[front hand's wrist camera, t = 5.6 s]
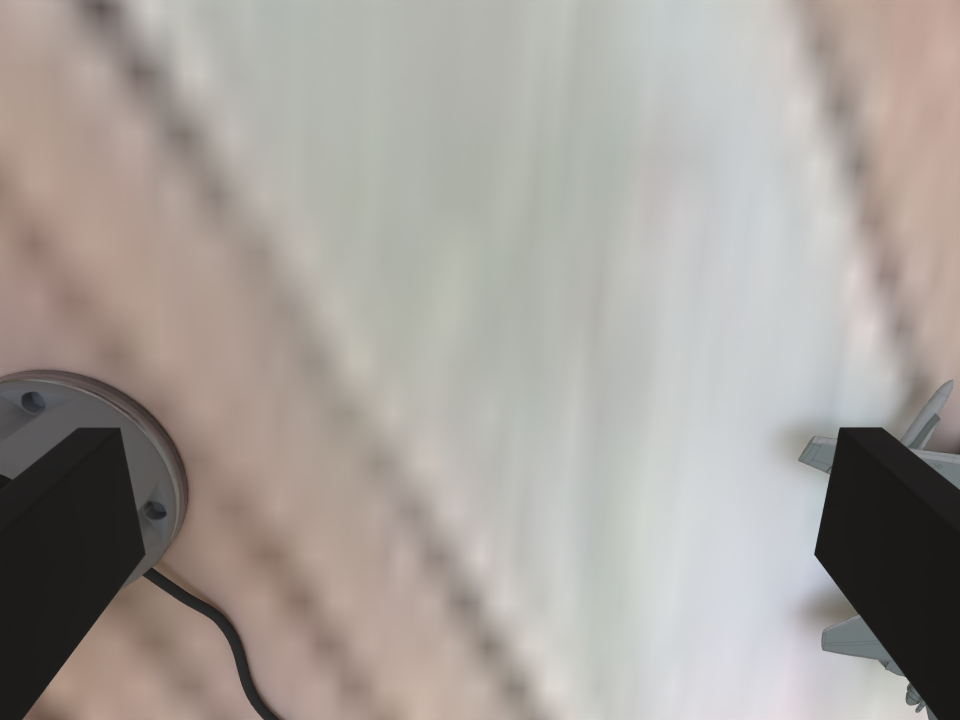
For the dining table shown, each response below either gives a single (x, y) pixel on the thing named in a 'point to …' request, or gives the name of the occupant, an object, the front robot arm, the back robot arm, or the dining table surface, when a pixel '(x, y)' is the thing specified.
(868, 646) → the airplane
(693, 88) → the dining table surface
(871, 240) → the dining table surface
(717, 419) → the dining table surface
